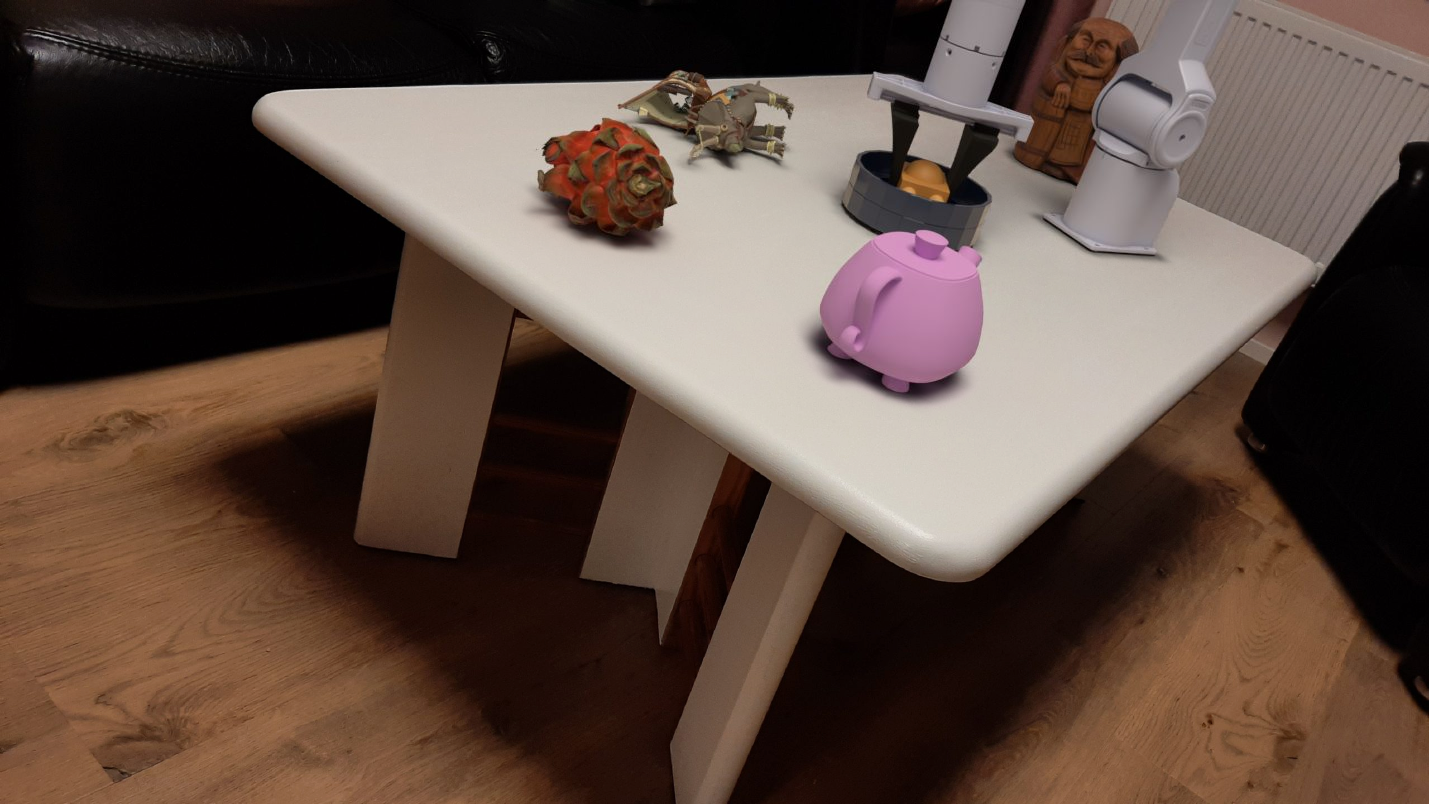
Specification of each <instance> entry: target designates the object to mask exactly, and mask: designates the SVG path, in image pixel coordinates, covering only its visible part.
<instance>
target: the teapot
mask: <svg viewBox="0 0 1429 804" xmlns="http://www.w3.org/2000/svg"><path fill="white" fill-rule="evenodd" d="M947 245H948V240H947V239H945V238H944V237H943V236H941V235H940V234H938V233H935V232H932V231H928V230H918V231H916V234H912V233H907V232H889V233H882V234H879V235H876V236H875V237H873V238H872V239H870V240H869V241H868V242H866V244H864V245H863V246H862V247H860V249H858V250H857V251H856V252H855V253H854V254H853V255H852V256H851V257H850V258H849V259H848V260H847V261H846V262H845V263H844V264H843V265H842V266H841V267H840V268H839V269H838V271H837V272H836V273H835V275H834V276H833V278H832V279H831V281H830V283H829V284H828V286H827V288H826V290H825V292H824V294H823V296H822V298H821V301H820V303H819V315H820V320H821V323H822V325H823V329H824V330H825V333H826V335H827V337H828V338H829V339H830V341H831V342H832V343H831V344H830V345H828V346H827V351H828V352H829V353H830V354H831V355H833V356H834V357H837V358H839V359H843V360H844V359H845V360H851V359H853V360H855V361H857V362H858V363H860V364H862V365H864V366H866V367H867V368H870V369H872V370H874V371H876V372H878V373H880V374H882V378H881V383H882V384H883V386H885V387H886V388H887V389H889V390H891V391H893V392H895V393H907V392H908V391H909V390H910V383H916V384H927V383H933V382H936V381H940V380H942V379H945V378H947V377H949V376H950V375H953V374H954V373H956V372H958V371H959V370H961V369H962V368H964V367H966V365H967V364H969V363H970V362H971V360H972V359H973V358H974V357H975V355H976V353H977V350H978V348H979V344H980V341H981V336H982V330H983V325H984V300H983V291H982V290H983V289H982V282H981V277H980V273H979V270H978V267H979V265H980V264H981V263H982V261H983V257H982V255H981V254H980V252H978V251H977V250H976V249H974V248H972V247H971V246H970V247H967V246H962V247H961V248H960V249H959V250H952V249H951V248H949V247H947Z"/></svg>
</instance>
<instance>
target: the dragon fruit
mask: <svg viewBox="0 0 1429 804" xmlns="http://www.w3.org/2000/svg"><path fill="white" fill-rule="evenodd" d="M601 120H602V121H601V124H599V123H598V124H595V125H593V127H592V128H591V129H590V130H586V129H585V130H584V129H583V130H574V131H571V132H570V133H569V134H563V135H556V136H552V137H550V138H549V139H548V140H547V141H546V142H545V143H544V144H543V147H542V148H541V150H542V155H541V157H544V162H545V163H546V164H548V165H550V166H553V167H552V168H550V169H548V170H546V172H545V173H544V171H543V170H542V169H538V170H537V184H538V189H539V191H540V192H542V193H543V192H544V193H546V192H547V193H551V194H553V195H555V197H557V198H564V199H569V200H570V201H571V202H570V205H569V207H568V209H567V215H568V218H569V220H570V221H571V222H572V223H573V224H574V225H576V226H583V225H585V226H586V225H589V224H591V223H595V222H597V226H598V229H600V230H601V231H603V232H604V233H607V234H610V235H615V236H621V237H624V236H626V235H627V234H628V233H629V232H630V231H631V230H632V228H633V227H634V228H636V229H637V230H641V231H644V232H651V231H652V232H653V231H655V230H657V229H658V228H661V227H663V226H664V216H665V210H666V209H668V208H670V207H673V206H675V205H677V204H678V201H677V200H676V197H675V195H674V185H675V177H674V174H673V171H672V169H671V167H670V164H669V162H668V161H667V159H666V157H664V156H663V155H661V150H660V148H659V146H658V145H657V144H656V143H655V141H654V140H653V138H652V137H651V135H650V134H649V133H648V132H647V131H646V130H645V129H643V128H639V127H637V126H632V125H631V126H630V125H628V124H627V123H625V122H623V121H620V120H617V119H616V120H615V119H612V118H609V117H601ZM538 150H539V149H537V148H536V149H535V151H538Z"/></svg>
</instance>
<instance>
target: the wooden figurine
mask: <svg viewBox="0 0 1429 804" xmlns="http://www.w3.org/2000/svg"><path fill="white" fill-rule="evenodd" d="M1139 52H1140V49H1139V44H1138V42H1137V39H1136V37H1135V35H1134V34H1133V32H1132V31H1131V30H1130V29H1129V28H1128V27H1127V26H1126V25H1124V24H1123V23H1121V22H1119V21H1116V20H1113V19H1111V18H1108V17H1103V16H1102V17H1100V16H1099V17H1097V16H1096V17H1089V18H1085V19H1083V20H1081V21H1078V22H1075V24H1073V25H1072V26H1071V27H1070V28H1069V30H1068V31H1067V34H1066V35H1064V36H1061V38H1059V40H1058V41H1057V42H1056V44H1055V46H1054V49H1053V51H1052V53H1051V55H1050V59H1049V61H1048V64H1047V67H1046V68H1045V70H1044V72H1043V74H1042V78H1041V84H1040V85H1039V86H1038V88H1037V90H1036V92H1035V94H1034V96H1033V99H1032V101H1031V104H1030V106H1029V108H1028V111H1027V113H1026V115H1029V116H1031V118H1032V119H1033V121H1034V124H1033V126H1032V129H1031V131H1030V134H1029V136H1028V138H1027V141H1026V142H1022V141H1018V140H1016V143H1015V146H1014V149H1013V155H1014V157H1015V158H1016V159H1017V160H1018V161H1019V162H1020V163H1021V164H1023V165H1025V166H1027V167H1028V168H1031V169H1032V170H1039V171H1041V172H1043V173H1045V174H1047V175H1051V176H1054V177H1056V178H1058V179H1060V180H1068V181H1071V182H1073V183H1075V184H1077V185H1078V183H1079V181H1080V178H1081V176H1082V174H1083V172H1084V169H1085V167H1086V165H1087V163H1088V160H1089V158H1090V156H1091V154H1092V152H1093V149H1094V147H1095V145H1096V143H1097V142H1096V141H1095V140H1093V139H1092V138H1093V136H1094V133H1095V131H1096V130H1095V128H1094V126H1093V124H1092V110H1093V106H1094V103H1095V101H1096V99H1097V97H1098V95H1099V94H1100V92H1101V91H1102V90H1103V88H1104V87H1105V86H1106V85H1107V84H1108V83H1109V82H1110V81H1111V80H1112V78H1113V77H1114V76H1115V74H1116V72H1117V70H1118V69H1119V66H1120V64H1121V62H1122V61H1123V60H1124V59H1126V58H1128V57H1130V56H1132V55H1135V54H1137V53H1139Z"/></svg>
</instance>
